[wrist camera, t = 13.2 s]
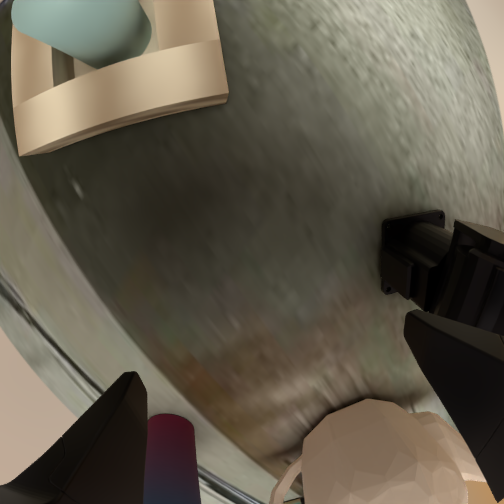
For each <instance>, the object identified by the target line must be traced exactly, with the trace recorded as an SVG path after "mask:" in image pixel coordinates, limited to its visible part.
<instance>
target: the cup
mask: <svg viewBox="0 0 504 504" xmlns="http://www.w3.org/2000/svg"><path fill="white" fill-rule="evenodd" d="M143 504H201V498H200V489H199V480H198V470H197V459H196V447H195V435H194V427H193V425H192V424H191V423H190V422H189V421H188V420H186V419H185V418H183V417H180V416H177V415H172V414H159V415H155V416H153V417H151V418H150V419H149V420H148V438H147V450H146V463H145V478H144V498H143Z"/></svg>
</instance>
